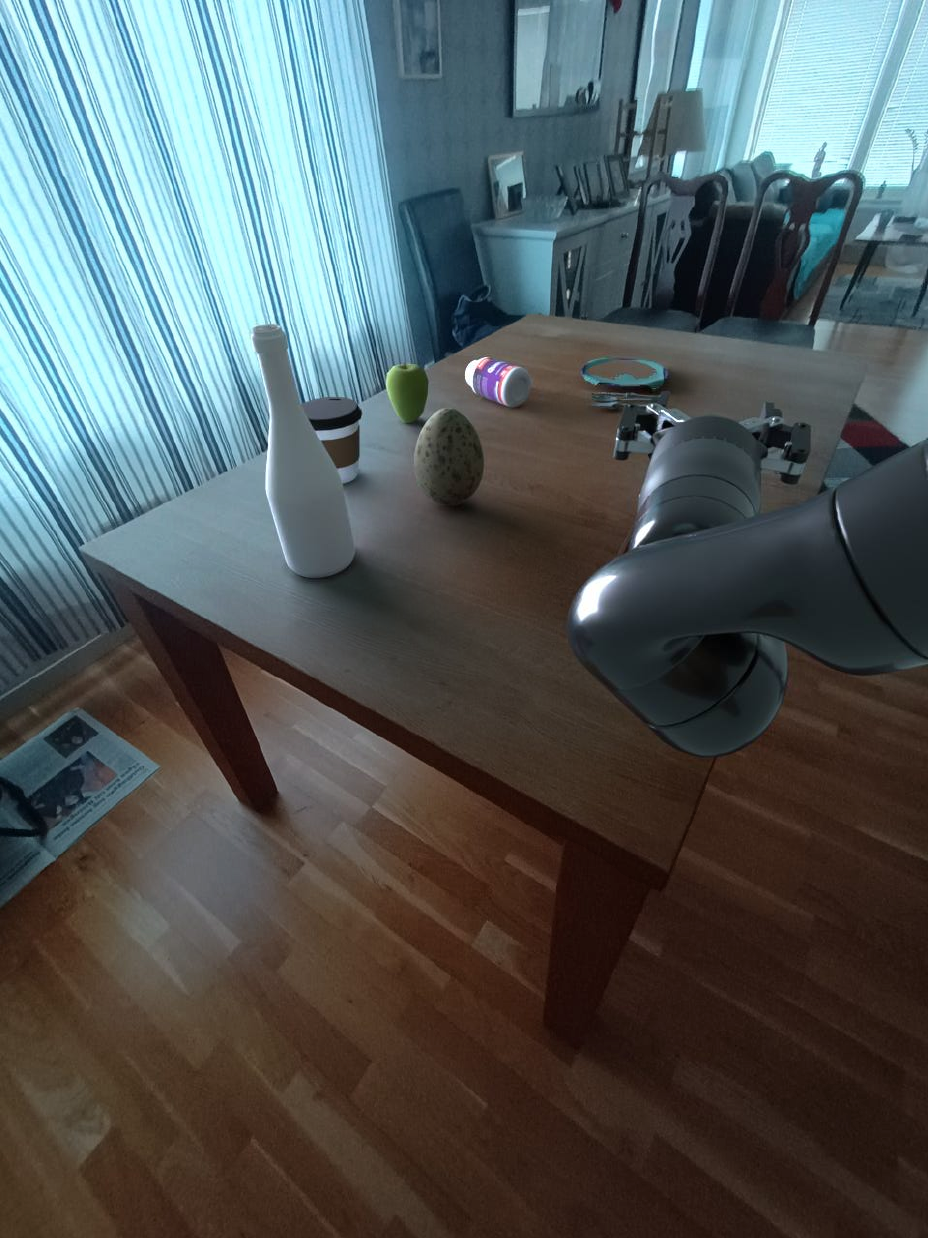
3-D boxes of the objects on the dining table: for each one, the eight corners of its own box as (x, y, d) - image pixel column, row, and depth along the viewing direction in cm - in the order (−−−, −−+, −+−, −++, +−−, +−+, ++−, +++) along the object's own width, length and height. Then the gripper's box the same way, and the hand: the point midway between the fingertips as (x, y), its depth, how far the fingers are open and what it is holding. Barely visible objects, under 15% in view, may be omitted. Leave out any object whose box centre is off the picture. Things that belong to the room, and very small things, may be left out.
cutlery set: (666, 368, 135) (668, 358, 134) (669, 415, 113) (671, 404, 112) (583, 364, 139) (584, 354, 138) (571, 409, 117) (572, 398, 116)
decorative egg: (489, 515, 86) (489, 420, 76) (420, 522, 85) (411, 426, 75) (478, 482, 94) (477, 392, 84) (415, 488, 93) (406, 398, 83)
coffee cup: (321, 460, 102) (307, 394, 94) (378, 463, 101) (369, 396, 93) (298, 489, 94) (281, 419, 86) (359, 492, 93) (347, 422, 85)
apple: (412, 432, 110) (406, 372, 103) (381, 423, 114) (373, 364, 107) (439, 418, 116) (436, 359, 108) (409, 410, 120) (403, 352, 112)
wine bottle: (345, 535, 83) (301, 311, 63) (364, 569, 76) (321, 331, 57) (282, 551, 80) (214, 323, 60) (295, 588, 74) (224, 345, 54)
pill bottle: (507, 372, 111) (460, 357, 120) (505, 412, 117) (460, 395, 125) (534, 364, 115) (487, 350, 124) (532, 403, 121) (486, 387, 129)
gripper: (838, 455, 34) (819, 371, 45) (602, 426, 38) (638, 355, 49) (793, 557, 38) (785, 458, 50) (589, 522, 43) (624, 437, 54)
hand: (712, 407), depth 49 cm, fingers open, 8 cm apart
